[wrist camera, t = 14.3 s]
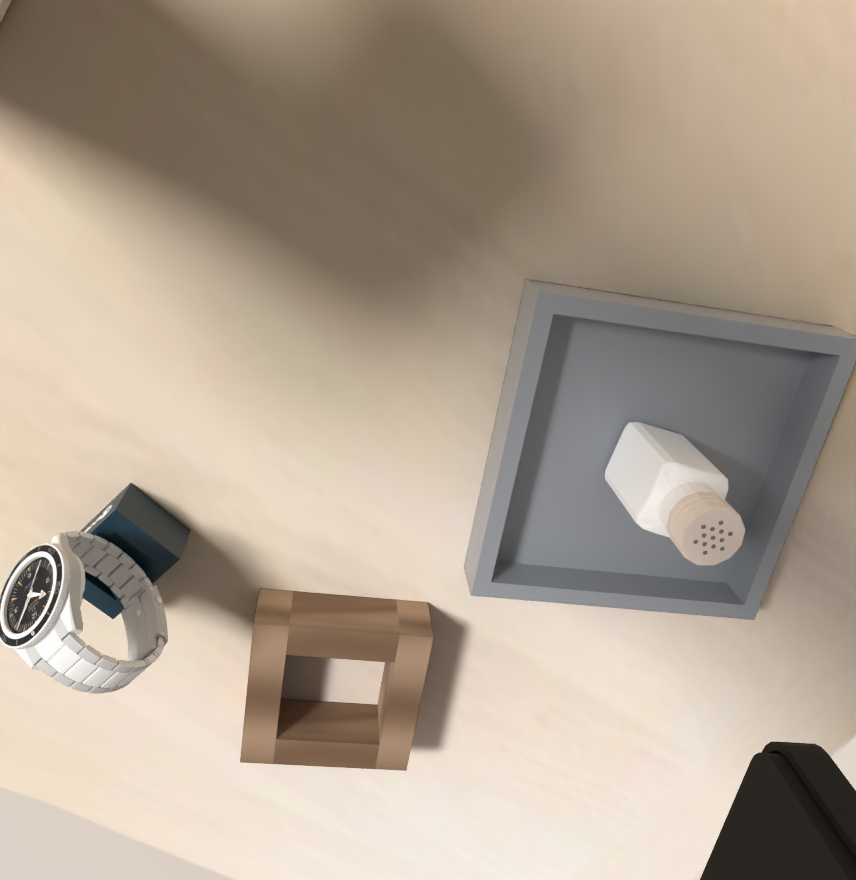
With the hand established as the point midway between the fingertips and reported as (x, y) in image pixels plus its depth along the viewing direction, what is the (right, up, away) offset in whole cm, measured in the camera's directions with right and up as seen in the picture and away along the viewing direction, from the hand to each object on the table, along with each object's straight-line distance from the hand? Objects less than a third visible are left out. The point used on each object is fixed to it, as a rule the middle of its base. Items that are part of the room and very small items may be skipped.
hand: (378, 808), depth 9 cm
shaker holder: (-5, -10, +40) cm, 42 cm away
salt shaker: (+13, +4, +36) cm, 38 cm away
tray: (+13, +4, +36) cm, 39 cm away
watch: (-17, -1, +35) cm, 39 cm away
